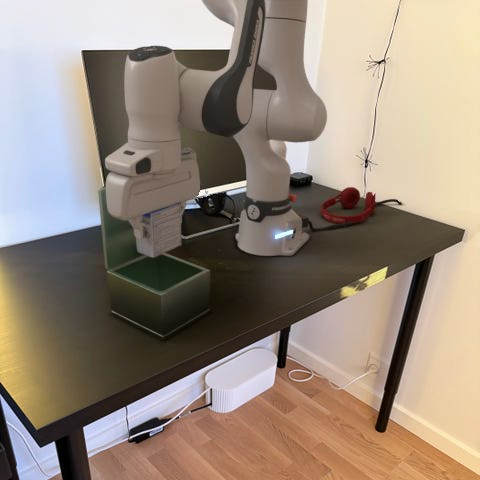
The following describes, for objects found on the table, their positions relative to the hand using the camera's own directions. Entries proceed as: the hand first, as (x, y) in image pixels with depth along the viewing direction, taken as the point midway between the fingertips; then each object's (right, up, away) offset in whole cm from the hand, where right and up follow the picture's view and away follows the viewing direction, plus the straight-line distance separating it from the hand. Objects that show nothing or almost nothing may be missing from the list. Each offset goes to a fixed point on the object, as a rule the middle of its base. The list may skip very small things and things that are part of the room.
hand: (159, 230), depth 91 cm
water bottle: (+25, +18, +67) cm, 74 cm away
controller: (+5, +17, +64) cm, 66 cm away
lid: (-6, +2, +4) cm, 7 cm away
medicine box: (0, -3, +2) cm, 4 cm away
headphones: (+51, +17, +67) cm, 86 cm away
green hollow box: (-1, -15, +10) cm, 18 cm away
